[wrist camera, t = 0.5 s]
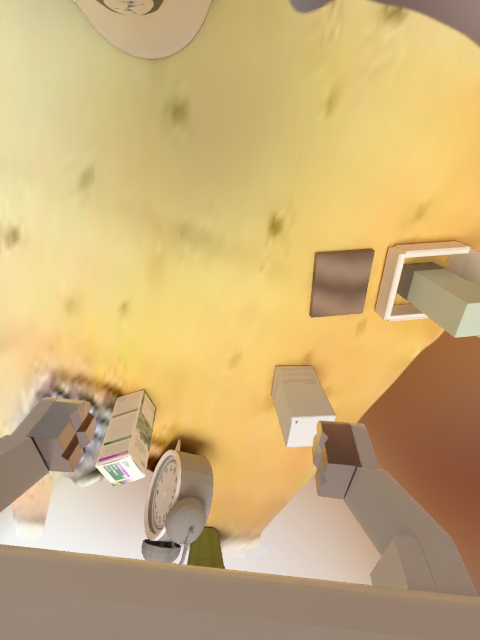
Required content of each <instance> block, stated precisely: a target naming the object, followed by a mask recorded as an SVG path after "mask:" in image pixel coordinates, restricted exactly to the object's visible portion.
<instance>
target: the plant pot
mask: <svg viewBox="0 0 480 640" xmlns="http://www.w3.org/2000/svg"><path fill="white" fill-rule="evenodd" d="M187 565H193V566H202V567H211V568H220V569H225V567H224V564H223V558H222V552H221V546H220V540H219V534H218V532H217V531H216V529H214V528H209V527H205V528H203V530H202V532H201V534H200V535H199V536H198V538H197V539H196V540H194V541H193V542H192V543H191V546H190V551H189V557H188V563H187Z"/></svg>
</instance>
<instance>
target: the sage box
mask: <svg viewBox="0 0 480 640" xmlns="http://www.w3.org/2000/svg"><path fill="white" fill-rule="evenodd" d="M397 293H398V294H400V295H401V296H402V297H403V298H405V299H406V300H407V301H408V302H410V303H411V304H412V305H414V306H415V307H416V308H417V309H419V310H420V311H421V312H423V313H424V314H425V315H426V316H428V317H429V318H430V319H432V320H433V321H434V322H435V323H437V324H438V325H439V326H441V327H442V328H443V329H444V330H446V331H447V332H448V333H449V334H451V335H452V336H453V337H465V336H476V335H480V287H479V286H477V285H475V284H473V283H471V282H469V281H467V280H465V279H464V278H462V277H460V276H458V275H456V274H454V273H452V272H450V271H448V270H447V269H445V268H443V267H441V266H439V265H437V264H435V263H433V262H430V263H416V264H404V265H403V269H402V273H401V277H400V281H399V285H398V289H397Z"/></svg>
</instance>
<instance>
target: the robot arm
mask: <svg viewBox="0 0 480 640" xmlns="http://www.w3.org/2000/svg"><path fill="white" fill-rule="evenodd" d="M73 1H74V2H75V3H76V4H77V6H78V7H79V8H80V10H81V11H82V12H83V14H84V15H85V17H86V18H87V19H88V21H89V22H90V23H91V25H92V26H93V27H94V28H95V29H96V31H97V32H98V33H99V34H100V35H101V36H102V37H103V38H104V39H106V40H107V41H108V42H109V43H110V44H112V45H113V46H115V47H116V48H118V49H119V50H121V51H123V52H125V53H127V54H129V55H132V56H135V57H139V58H144V59H158V58H164V57H167V56H170V55H172V54H174V53H176V52H178V51H180V50H181V49H182V48H184V47H185V46H186V45H187V44H188V43H189V42H190V41H191V40H192V39H193V38H194V36H195V35H196V34H197V32H198V31H199V29H200V27H201V25H202V23H203V21H204V19H205V17H206V14H207V12H208V9H209V7H210V5H211V3H212V1H213V0H73ZM90 410H91V406H90V403H89V402H87V401H79V400H70V399H61V398H51V397H45V398H43V399H42V400H40V401H39V403H38V404H37V405H36V406H35V407H34V409H33V410H32V411H31V412H30V413H29V414H28V416H27V417H26V418H25V419H24V420H23V422H22V423H21V424H20V425H19V426H18V427H17V429H16V430H15V431H14V432H13V433H12V435H6V436H4V437H2V438H0V512H1V511H3V510H4V509H5V508H6V507H7V506H9V505H10V504H11V503H12V502H14V501H15V500H16V499H17V498H18V497H20V496H21V495H22V494H23V493H24V492H26V491H27V490H28V489H29V488H30V487H32V486H33V485H34V484H35V483H36V482H38V481H39V480H40V479H41V478H42V477H44V476H45V475H46V474H47V473H49V471H61V472H74V470H75V468H76V466H77V465H78V463H79V461H80V460H81V458H82V456H83V450H82V448H84V447H85V446H86V445H88V444H89V443H90V442H91V440H92V438H93V436H94V433H95V429H96V420H95V417H94V416H93V415H92V414H91V413H89V411H90ZM316 429H317V434H316V435H315V436H314V439H313V446H312V455H313V464H314V465H315V466H316V467H317V471H316V475H315V479H316V486H317V493H318V496H322V497H330V498H338V499H344V502H345V503H346V505H347V506H348V507H349V509H350V511H351V512H352V513H353V515H354V516H355V518H356V519H357V521H358V522H359V524H360V525H361V527H362V528H363V530H364V531H365V532H366V534H367V535H368V537H369V538H370V540H371V541H372V542H373V544H374V546H375V547H376V548H377V550H378V552H379V553H380V554H381V556H382V557H381V558H380V560H379V561H378V563H377V564H376V566H375V567H374V569H373V571H372V572H371V573H370V576H371V581H372V585H364V584H354V583H346V582H337V581H328V580H319V579H310V578H301V577H292V576H283V575H274V574H265V573H255V572H247V571H238V570H228V569H220V568H211V567H202V566H193V565H184V564H175V563H166V562H157V561H148V560H138V559H130V558H120V557H111V556H102V555H93V554H84V553H74V552H66V551H57V550H48V549H39V548H30V547H21V546H11V545H3V544H0V640H480V597H478V596H477V593H476V591H475V589H474V586H473V584H472V582H471V580H470V577H469V576H468V573H467V571H466V568H465V566H464V564H463V562H462V559H461V557H460V555H459V553H458V551H457V548H456V546H455V544H454V542H453V540H452V538H451V537H450V536H449V535H448V534H447V533H446V532H445V531H444V530H443V529H442V528H441V527H440V526H439V525H438V524H437V523H436V522H435V521H434V519H433V518H432V517H431V516H430V515H429V514H428V513H427V512H426V511H425V510H424V509H423V508H422V507H421V506H420V505H419V504H418V503H417V502H416V501H415V500H414V499H413V498H412V497H411V496H410V495H409V494H408V493H407V492H406V491H405V490H404V489H403V488H402V487H401V486H400V485H399V484H398V483H397V482H396V481H395V480H394V479H393V478H392V477H391V476H390V475H389V474H388V473H387V472H386V471H385V470H384V469H380V468H379V465H378V462H377V459H376V456H375V453H374V450H373V447H372V444H371V441H370V438H369V435H368V432H367V429H366V427H365V425H364V424H356V423H347V422H334V421H320V420H319V421H318V423H317V426H316Z"/></svg>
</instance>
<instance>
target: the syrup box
mask: <svg viewBox="0 0 480 640" xmlns="http://www.w3.org/2000/svg"><path fill="white" fill-rule="evenodd" d="M155 413H156V408H155V406H154V405H153V403H152V401H151V400H150V398H149V397H148V395H147V393H146V392H145V390H141V391H137V392H134V393H130V394H127V395H124V396H120V397H118V398H117V400H116V403H115V406H114V410H113V413H112V416H111V419H110V422H109V425H108V428H107V431H106V434H105V437H104V440H103V443H102V446H101V450H100V453H99V456H98V459H97V462H96V465H95V466H96V467H97V468H98V470H99V471H100V472H101V473H102V474H103V475H104V476H105V477H106V478H107V479H108V480H109V482H111V484H112V485H113V486H115V485H120V484H125V483H129V482H131V481H135V480H138V479H140V478H143V477H145V474H146V468H147V462H148V456H149V450H150V444H151V438H152V432H153V426H154V420H155Z"/></svg>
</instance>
